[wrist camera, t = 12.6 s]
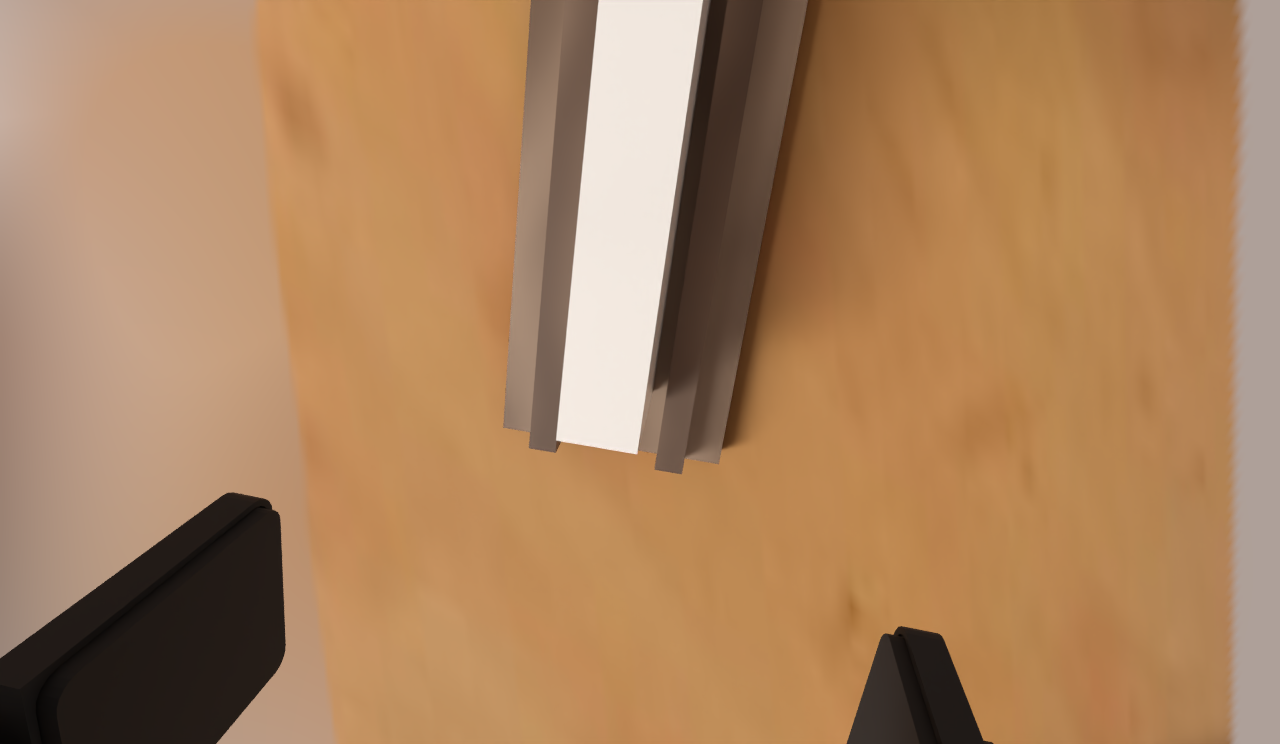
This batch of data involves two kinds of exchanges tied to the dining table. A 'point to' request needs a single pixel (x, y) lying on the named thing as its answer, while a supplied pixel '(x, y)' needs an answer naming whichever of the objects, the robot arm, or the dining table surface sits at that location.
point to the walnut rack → (707, 227)
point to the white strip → (628, 214)
